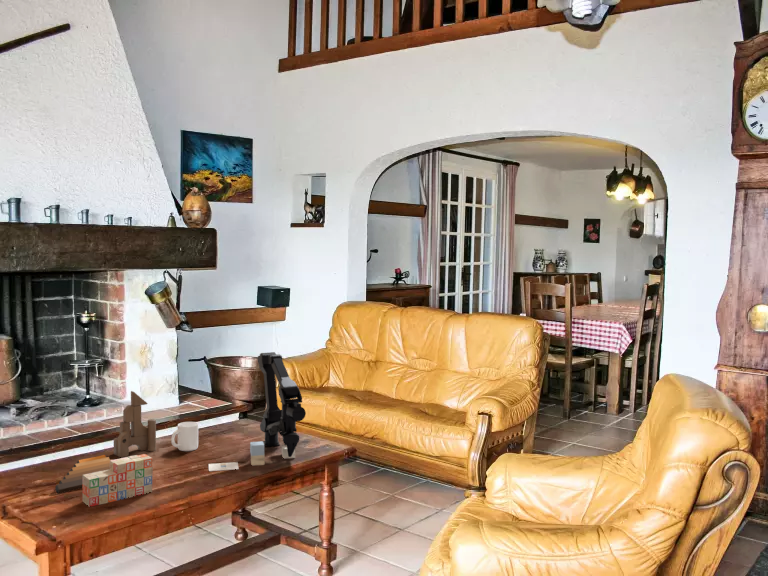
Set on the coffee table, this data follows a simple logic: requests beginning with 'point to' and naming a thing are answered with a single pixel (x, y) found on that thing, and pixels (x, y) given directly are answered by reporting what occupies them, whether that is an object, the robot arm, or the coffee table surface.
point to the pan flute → (82, 472)
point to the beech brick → (257, 460)
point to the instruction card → (223, 466)
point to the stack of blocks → (119, 480)
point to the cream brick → (286, 452)
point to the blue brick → (257, 448)
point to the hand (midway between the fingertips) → (288, 453)
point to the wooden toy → (135, 429)
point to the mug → (186, 436)
